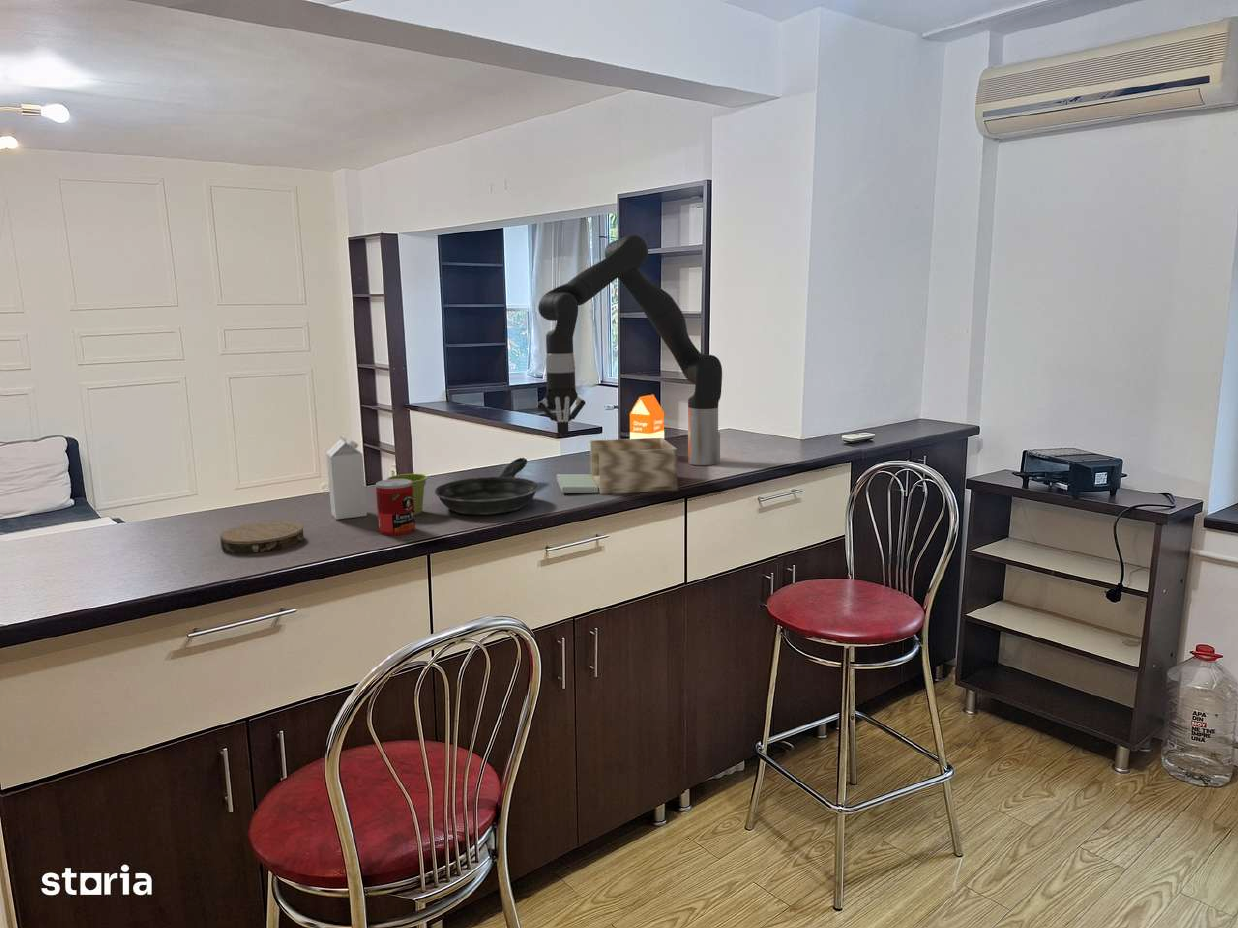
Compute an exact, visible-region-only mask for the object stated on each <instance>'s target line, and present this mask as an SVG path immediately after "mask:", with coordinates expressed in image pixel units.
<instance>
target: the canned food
mask: <svg viewBox="0 0 1238 928" xmlns="http://www.w3.org/2000/svg"><path fill="white" fill-rule="evenodd" d="M386 479H387V478H386ZM386 479H383V480H379V481H377V482H376V483H375V491H376V492H375V493H376V505H377V516H378V530H379V532H380V533H381V534H382V535H385V536H404V535H408V534H411V533H413V532H414V531H415V530H416V519H415V518H416V515H415V514H414V498H413V484H412V481H411V480H408V479H387V480H386Z"/></svg>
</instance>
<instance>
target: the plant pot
mask: <svg viewBox="0 0 1238 928" xmlns="http://www.w3.org/2000/svg"><path fill="white" fill-rule="evenodd" d="M387 479H408V480H411V481H412V484H413V498H414V514H415V516H416V515H420V514H421V513H422V512H423V505H424V494H425V493H424V492H425V485H426V481H427V479H428V476H427V475H426V474H421V473H405V474H404V473H403V474H396V475H392V476H388V477H387V478H386V479H385V480H387Z"/></svg>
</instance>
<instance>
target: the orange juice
mask: <svg viewBox="0 0 1238 928" xmlns="http://www.w3.org/2000/svg"><path fill="white" fill-rule="evenodd" d="M631 409H632V410H631V411H630V412H629V439H641V438H663V439H664V440H665V412H664V410H663V409H662V407H661V406H660V403H659V401H658V400H657V398H656V397H655V395H654V394H650V395H643V396H639V398H638V400H637V401H636V403H635V404H634V406H633V407H632V408H631Z"/></svg>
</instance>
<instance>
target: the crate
mask: <svg viewBox="0 0 1238 928" xmlns="http://www.w3.org/2000/svg"><path fill="white" fill-rule="evenodd" d="M589 441H590V442H589V445H590V448H589V449H590V474H591V476H592V478H593V479H594V481H595V483H596V484H597V486H598V494H599V495H610V494H609V493H612V494H628V493H629V494H630V493H631V494H632V493H651V492H670V491H672V492H673V491H678V448H676V447H675V446H674V445H672V444H671V443H670V442H668V440H666V439H665V438H664V439H663V438H641V439H630V438H623V439H622V438H620V439H618V438H617V439H596V440H595V439H594V440H589Z"/></svg>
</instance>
